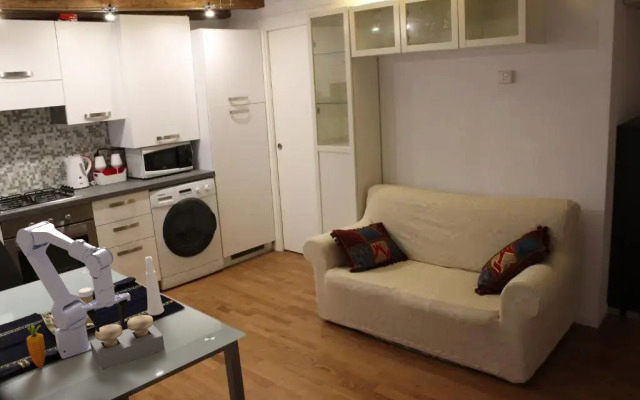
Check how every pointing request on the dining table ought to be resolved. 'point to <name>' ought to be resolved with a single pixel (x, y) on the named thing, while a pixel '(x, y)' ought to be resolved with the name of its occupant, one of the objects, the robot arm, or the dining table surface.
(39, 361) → the carrot
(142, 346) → the peg block
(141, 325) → the right peg
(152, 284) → the cosmetic bottle
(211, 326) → the dining table surface
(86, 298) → the sprinkles bottle
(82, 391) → the dining table surface
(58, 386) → the dining table surface
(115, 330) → the left peg
